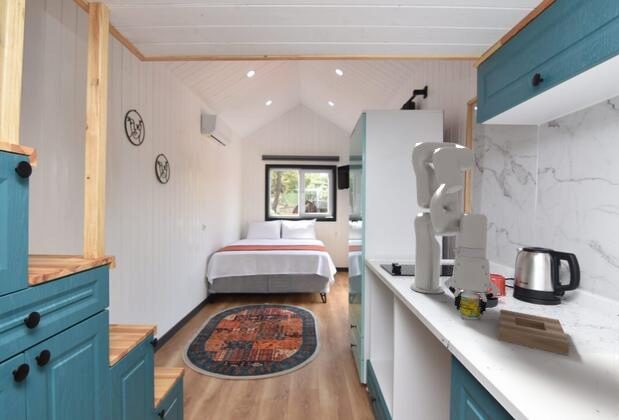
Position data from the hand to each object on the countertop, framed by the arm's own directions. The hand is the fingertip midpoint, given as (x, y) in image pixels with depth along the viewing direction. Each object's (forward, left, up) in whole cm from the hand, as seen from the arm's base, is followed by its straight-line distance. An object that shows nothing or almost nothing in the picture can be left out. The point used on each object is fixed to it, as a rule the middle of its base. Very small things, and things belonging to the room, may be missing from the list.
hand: (469, 310), depth 96 cm
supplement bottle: (0, 0, -2) cm, 2 cm away
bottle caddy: (+5, +15, -2) cm, 16 cm away
